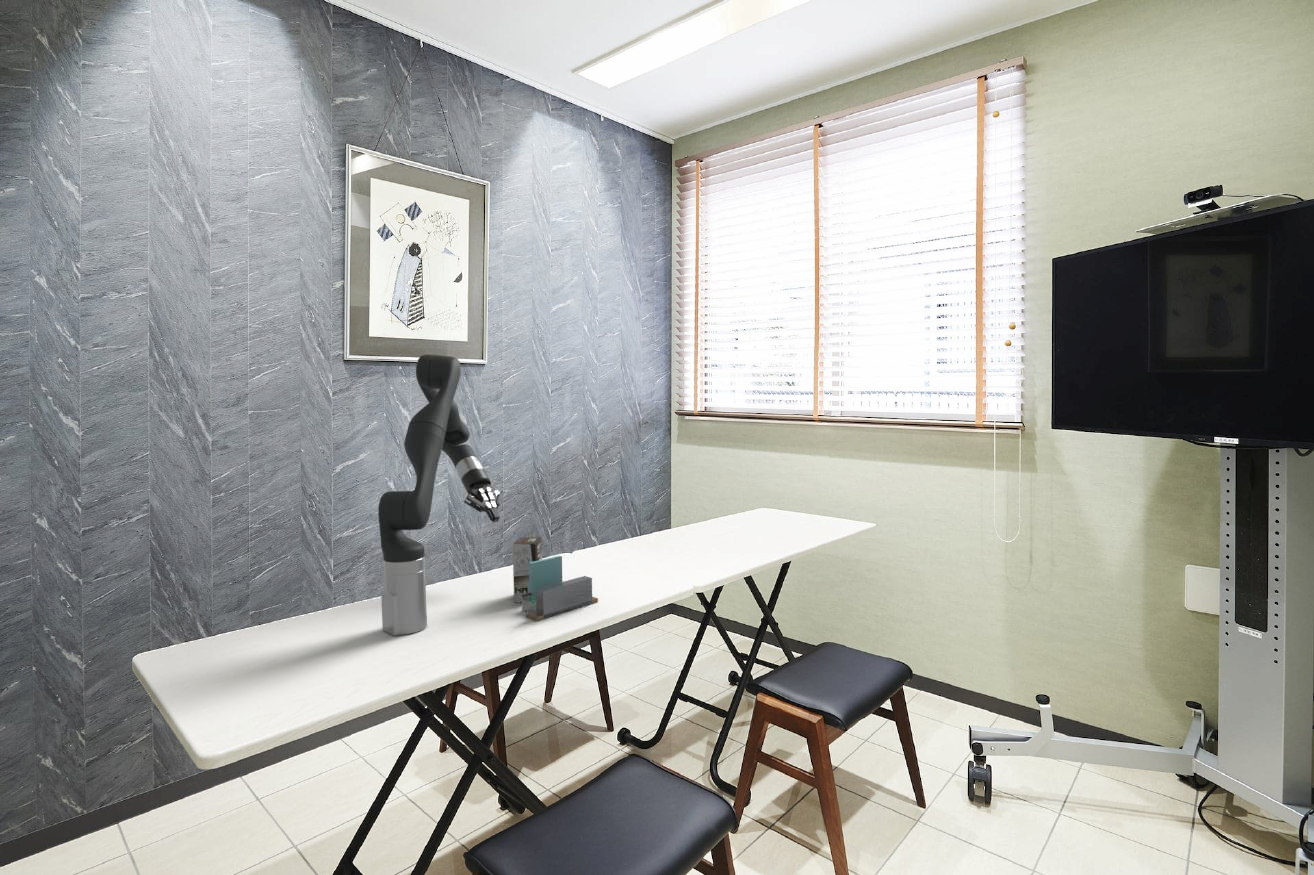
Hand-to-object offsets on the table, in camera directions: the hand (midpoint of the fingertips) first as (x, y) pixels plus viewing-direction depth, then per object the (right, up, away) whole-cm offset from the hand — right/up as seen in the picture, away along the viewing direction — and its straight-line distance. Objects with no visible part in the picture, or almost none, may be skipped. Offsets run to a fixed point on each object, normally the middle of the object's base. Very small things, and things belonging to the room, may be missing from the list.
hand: (496, 520), depth 189 cm
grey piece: (+20, -21, -17) cm, 33 cm away
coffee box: (+11, -21, -9) cm, 25 cm away
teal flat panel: (+16, -19, -16) cm, 29 cm away
